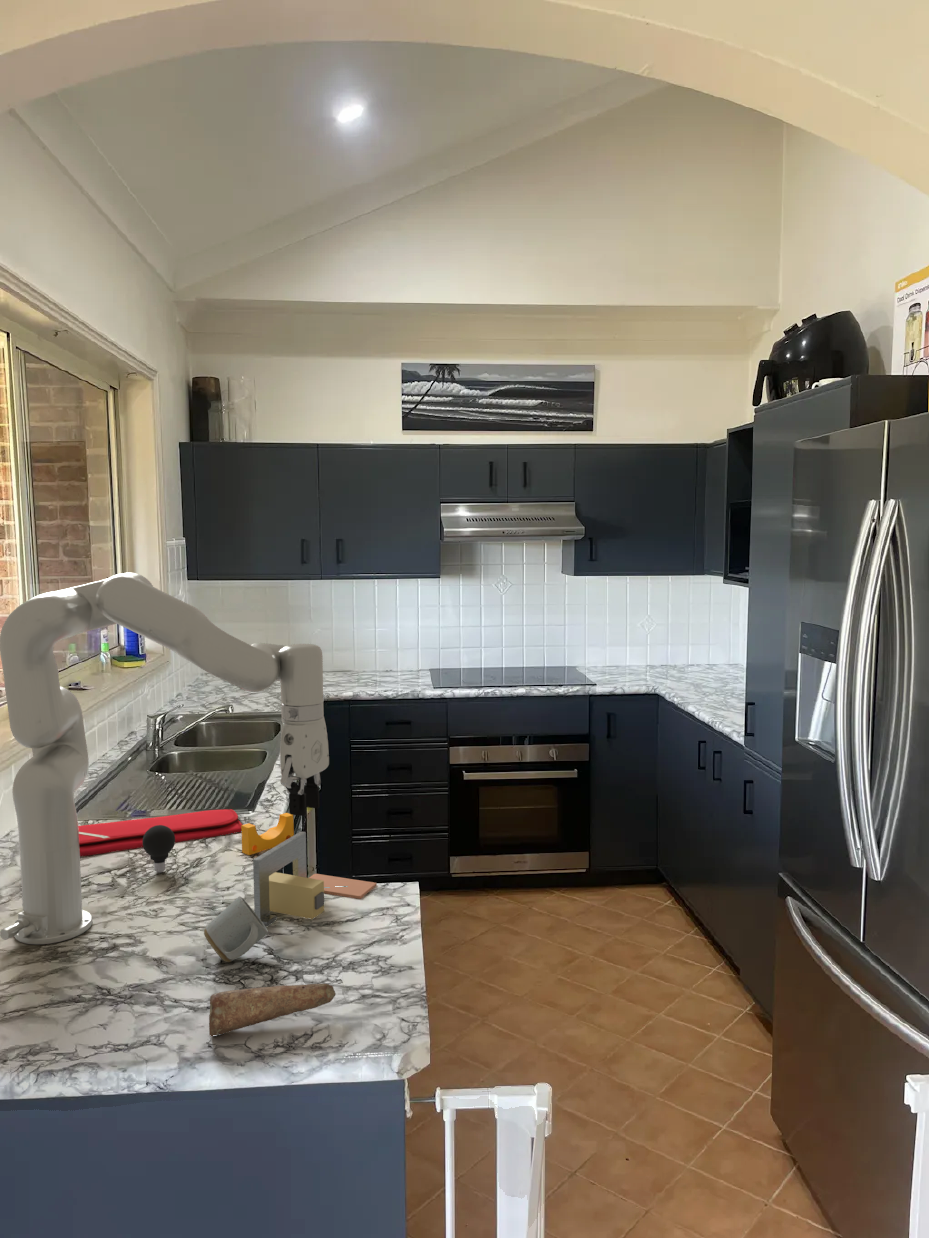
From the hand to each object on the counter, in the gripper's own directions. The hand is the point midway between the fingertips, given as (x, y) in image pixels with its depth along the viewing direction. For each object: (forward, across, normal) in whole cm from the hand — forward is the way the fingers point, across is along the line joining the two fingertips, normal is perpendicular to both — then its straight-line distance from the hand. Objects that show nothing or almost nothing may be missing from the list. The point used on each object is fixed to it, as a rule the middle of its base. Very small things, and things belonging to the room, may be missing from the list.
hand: (304, 809), depth 163 cm
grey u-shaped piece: (+19, 0, +5) cm, 20 cm away
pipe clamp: (+20, +27, +26) cm, 43 cm away
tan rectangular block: (+19, 0, +3) cm, 20 cm away
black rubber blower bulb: (+19, +6, +38) cm, 43 cm away
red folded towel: (+20, +24, +56) cm, 64 cm away
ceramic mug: (+20, -21, 0) cm, 29 cm away
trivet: (+19, +12, 0) cm, 23 cm away
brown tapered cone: (+20, -35, -15) cm, 43 cm away
